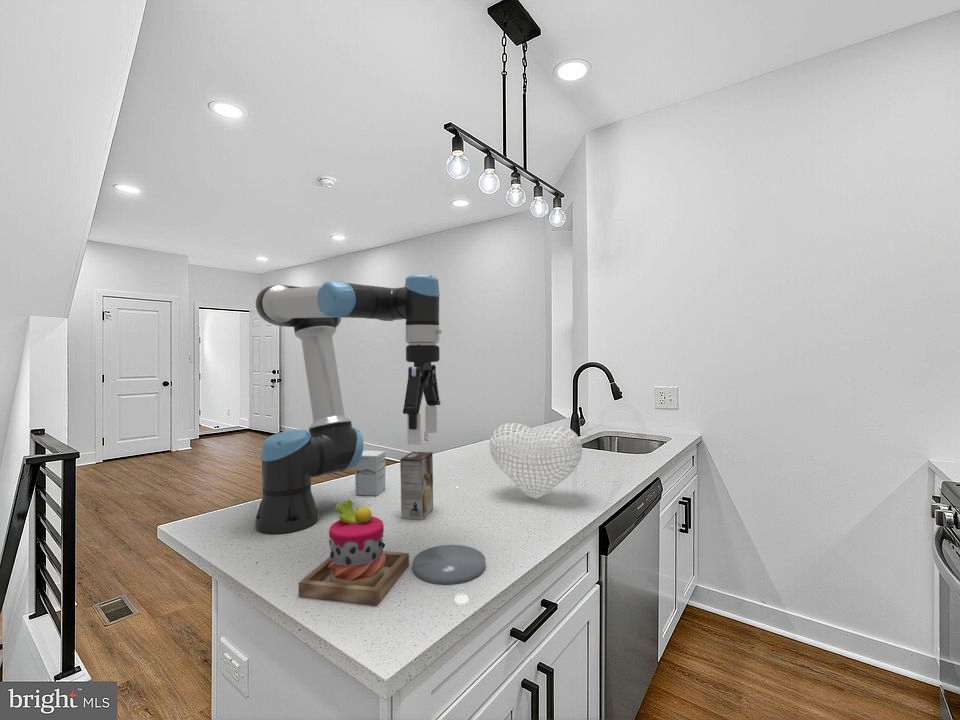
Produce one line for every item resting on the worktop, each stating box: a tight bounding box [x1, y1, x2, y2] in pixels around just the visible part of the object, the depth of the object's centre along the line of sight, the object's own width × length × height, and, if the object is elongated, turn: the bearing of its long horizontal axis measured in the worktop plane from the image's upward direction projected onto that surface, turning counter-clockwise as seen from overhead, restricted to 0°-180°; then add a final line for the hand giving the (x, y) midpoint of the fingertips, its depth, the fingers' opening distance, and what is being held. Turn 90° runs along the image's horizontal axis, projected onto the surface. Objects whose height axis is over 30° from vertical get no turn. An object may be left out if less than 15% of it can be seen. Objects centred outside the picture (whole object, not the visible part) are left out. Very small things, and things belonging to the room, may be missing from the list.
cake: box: [328, 498, 386, 587], centre depth 89 cm, size 10×11×15 cm
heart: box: [489, 422, 583, 499], centre depth 138 cm, size 28×16×22 cm, turn 65°
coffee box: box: [399, 451, 434, 521], centre depth 126 cm, size 9×6×16 cm
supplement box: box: [354, 449, 386, 497], centre depth 145 cm, size 7×7×13 cm
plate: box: [412, 544, 486, 585], centre depth 95 cm, size 15×15×1 cm
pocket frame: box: [297, 550, 410, 606], centre depth 90 cm, size 15×15×2 cm
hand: (423, 438), depth 104 cm, fingers open, 13 cm apart
